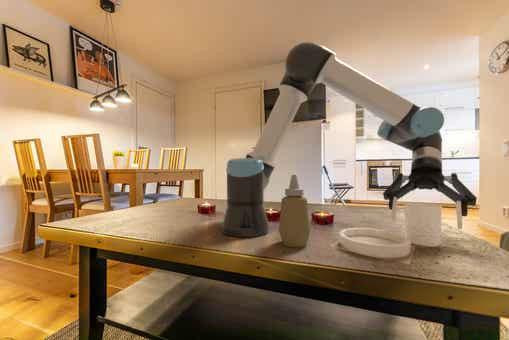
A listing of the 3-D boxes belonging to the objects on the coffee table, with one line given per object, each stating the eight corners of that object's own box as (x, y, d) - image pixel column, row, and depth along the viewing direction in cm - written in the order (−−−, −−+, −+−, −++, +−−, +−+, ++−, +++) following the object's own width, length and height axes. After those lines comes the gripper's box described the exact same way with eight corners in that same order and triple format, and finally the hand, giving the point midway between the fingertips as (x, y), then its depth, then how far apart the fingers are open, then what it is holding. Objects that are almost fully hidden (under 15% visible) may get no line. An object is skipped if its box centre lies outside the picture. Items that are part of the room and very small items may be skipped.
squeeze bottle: (316, 244, 57) (315, 174, 57) (301, 253, 51) (300, 175, 51) (288, 238, 62) (288, 174, 63) (272, 245, 56) (272, 175, 56)
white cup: (450, 249, 53) (449, 207, 53) (413, 247, 54) (412, 207, 54) (430, 239, 60) (430, 203, 60) (398, 238, 62) (398, 202, 62)
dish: (330, 247, 53) (330, 237, 53) (350, 234, 65) (350, 225, 65) (406, 264, 43) (405, 251, 43) (413, 245, 55) (413, 234, 55)
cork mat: (329, 248, 54) (329, 246, 54) (348, 235, 64) (348, 234, 64) (409, 266, 43) (409, 264, 43) (415, 247, 54) (415, 246, 54)
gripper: (482, 173, 63) (492, 238, 51) (382, 173, 79) (373, 223, 67) (484, 153, 59) (496, 219, 47) (379, 157, 75) (368, 207, 63)
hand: (424, 221), depth 57 cm, fingers open, 13 cm apart
